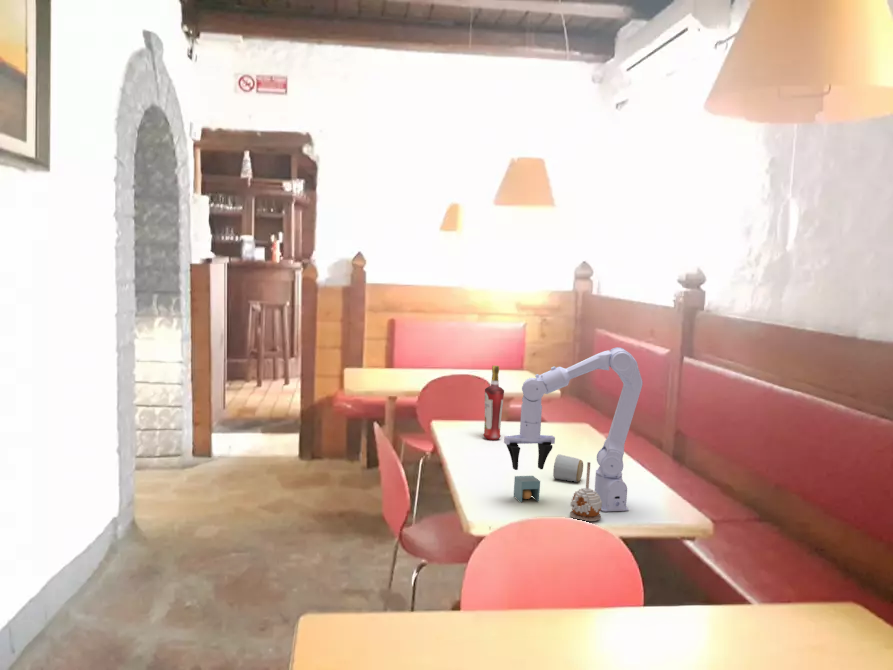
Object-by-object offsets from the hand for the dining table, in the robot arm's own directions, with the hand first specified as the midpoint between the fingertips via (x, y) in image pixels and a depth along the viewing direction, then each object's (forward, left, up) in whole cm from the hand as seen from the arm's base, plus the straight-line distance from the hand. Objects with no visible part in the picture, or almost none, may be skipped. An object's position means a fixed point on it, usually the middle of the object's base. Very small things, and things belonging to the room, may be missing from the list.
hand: (527, 468), depth 211 cm
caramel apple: (-17, -10, -9) cm, 22 cm away
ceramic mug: (+18, -21, -9) cm, 30 cm away
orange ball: (0, 0, -9) cm, 9 cm away
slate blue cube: (0, 0, -9) cm, 9 cm away
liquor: (+73, -15, -9) cm, 75 cm away
